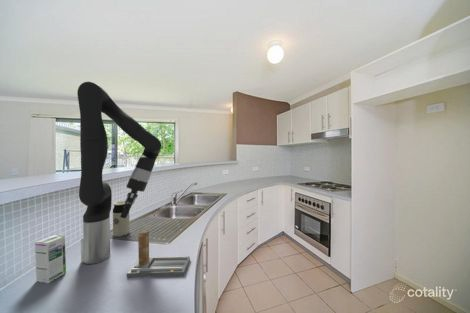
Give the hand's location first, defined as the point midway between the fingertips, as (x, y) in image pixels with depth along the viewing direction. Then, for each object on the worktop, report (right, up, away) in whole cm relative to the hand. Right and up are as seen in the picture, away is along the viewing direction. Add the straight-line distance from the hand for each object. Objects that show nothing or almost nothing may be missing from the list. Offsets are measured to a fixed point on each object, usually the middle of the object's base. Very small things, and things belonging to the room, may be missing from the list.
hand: (124, 215), depth 76 cm
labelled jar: (-17, -19, +26) cm, 36 cm away
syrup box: (-20, -20, -10) cm, 30 cm away
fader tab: (+11, -17, -6) cm, 21 cm away
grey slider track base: (+18, -19, -5) cm, 27 cm away
